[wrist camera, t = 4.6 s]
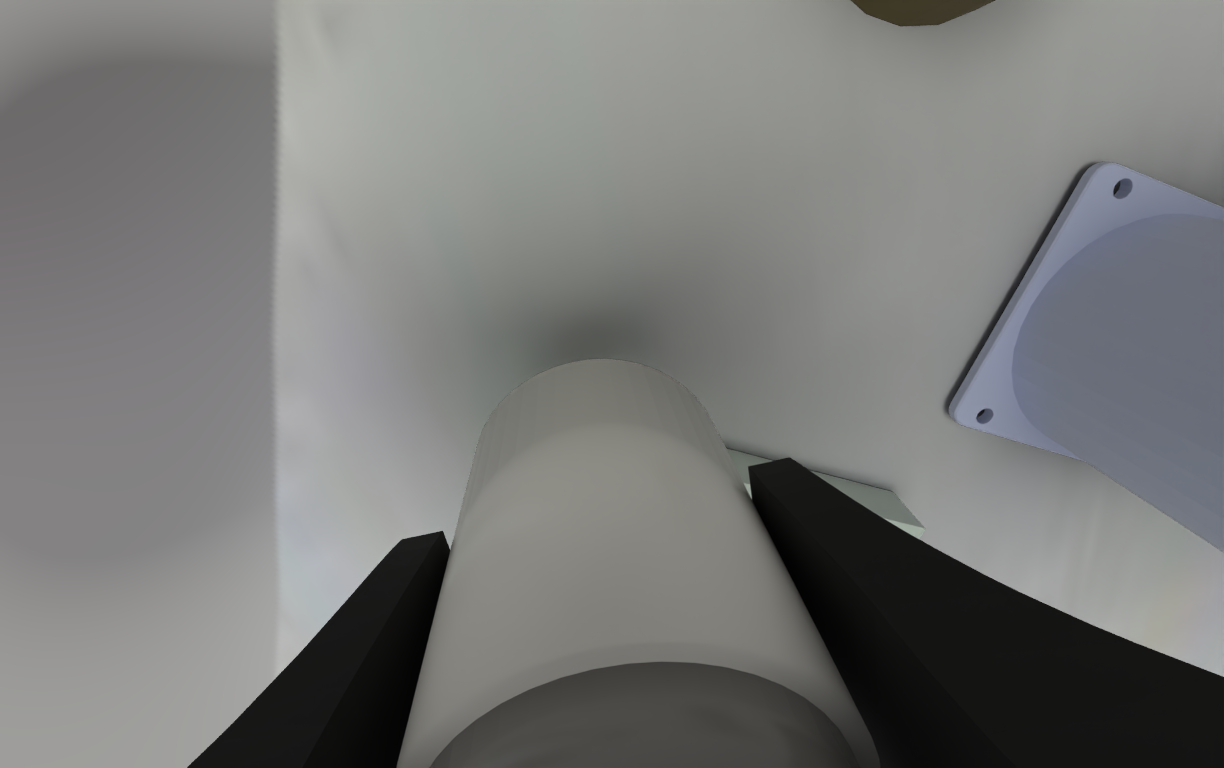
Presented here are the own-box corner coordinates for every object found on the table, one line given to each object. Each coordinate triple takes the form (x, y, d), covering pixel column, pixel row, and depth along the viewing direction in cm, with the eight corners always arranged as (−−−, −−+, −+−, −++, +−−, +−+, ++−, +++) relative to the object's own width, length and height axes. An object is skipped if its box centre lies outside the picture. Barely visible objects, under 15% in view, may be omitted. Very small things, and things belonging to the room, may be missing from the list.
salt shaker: (761, 399, 11) (1062, 820, 4) (670, 594, 12) (793, 1121, 6) (511, 326, 10) (423, 715, 3) (447, 546, 11) (303, 1097, 5)
